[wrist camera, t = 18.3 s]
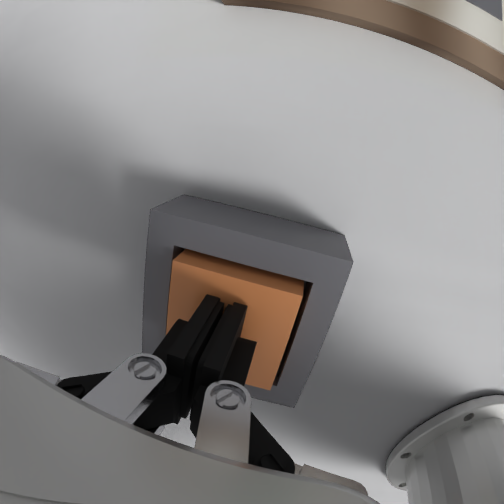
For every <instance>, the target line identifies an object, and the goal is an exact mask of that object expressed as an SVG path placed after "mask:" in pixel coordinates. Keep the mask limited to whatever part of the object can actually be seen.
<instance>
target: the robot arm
mask: <svg viewBox="0 0 504 504" xmlns="http://www.w3.org/2000/svg"><path fill="white" fill-rule="evenodd" d="M247 307H248V306H247V305H243V304H240V303H236V302H234V303H233V305H230V304H228V305H227V307H226V309H225V311H224V313H223V309H224V303H223V302H220V298H218V297H215V296H212V295H208V294H207V295H206V296H205V297H204V299H203V300H202V302H201V303H200V305H199V306H198V308H197V309H196V311H195V312H194V314H193V315H192V317H191V318H190V320H189V321H185V320H182V319H178V320H177V321H176V322H175V324H174V325H173V326H172V328H171V329H170V330H169V332H168V333H167V335H166V336H165V337H164V339H163V340H162V341H161V343H160V344H159V346H158V347H157V348H156V350H155V351H154V353H153V354H146V353H140V354H135V355H132V356H130V357H129V358H127V359H126V360H125V361H124V362H123V363H122V364H120V365H119V366H118V367H117V368H116V369H115V370H114V371H112V372H106V373H100V374H93V375H86V376H79V377H71V378H67V379H64V380H60V377H59V376H56V375H53V374H50V373H47V372H44V371H42V370H39V369H36V368H33V367H30V366H28V365H25V364H22V363H19V362H15V361H13V360H11V359H9V358H7V357H5V356H2V355H0V504H380V503H378V502H377V501H375V500H374V499H372V498H371V497H369V496H368V493H367V491H366V489H365V487H364V486H363V485H362V484H361V483H358V482H356V481H354V480H351V479H347V478H344V477H341V476H338V475H334V474H331V473H328V472H325V471H322V470H320V469H317V468H314V467H311V466H308V465H306V464H304V465H303V466H300V465H298V464H295V463H294V462H293V460H292V459H291V457H290V456H289V455H288V454H287V453H286V451H285V450H284V449H283V448H282V447H281V446H280V445H279V444H278V443H277V441H276V440H275V439H274V438H273V437H272V436H271V435H270V433H269V432H268V431H267V430H266V429H265V428H264V426H263V425H262V424H261V423H260V422H259V421H258V419H257V418H256V417H255V416H254V415H253V413H252V412H251V395H250V393H249V392H248V390H247V389H246V388H245V387H244V385H245V382H246V379H247V375H248V372H249V368H250V365H251V362H252V358H253V355H254V351H255V347H256V344H257V342H256V341H252V340H248V339H245V338H241V337H240V336H241V332H242V328H243V324H244V319H245V315H246V311H247ZM222 314H223V315H222ZM190 409H191V413H190V420H191V425H190V430H191V431H192V433H193V434H194V436H195V437H196V442H195V447H194V448H192V447H189V446H186V445H183V444H181V443H178V442H175V441H172V440H170V439H167V438H164V437H162V436H159V435H160V434H161V432H162V431H163V429H164V425H166V424H170V423H176V424H178V423H179V421H180V419H181V417H182V418H185V419H186V417H187V416H188V413H189V411H190ZM386 475H387V480H388V481H389V483H390V484H391V485H392V486H394V487H395V488H398V489H401V490H405V491H407V493H408V502H409V504H504V395H492V396H485V397H480V398H477V399H473V400H470V401H467V402H464V403H462V404H459V405H457V406H454V407H452V408H450V409H448V410H446V411H444V412H442V413H440V414H438V415H437V416H435V417H433V418H431V419H430V420H428V421H426V422H425V423H423V424H422V425H420V426H419V427H418V428H416V429H415V430H413V431H412V432H411V433H410V434H408V435H407V436H406V437H405V438H404V439H403V440H402V441H401V442H400V443H399V444H398V445H397V446H396V447H395V448H394V449H393V451H392V452H391V454H390V455H389V457H388V460H387V462H386Z"/></svg>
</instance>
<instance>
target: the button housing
mask: <svg viewBox="0 0 504 504" xmlns="http://www.w3.org/2000/svg"><path fill="white" fill-rule="evenodd" d="M185 249H189V250H193V251H197V252H200V253H204V254H207V255H211V256H215V257H218V258H222V259H226V260H229V261H233V262H237V263H240V264H244V265H248V266H252V267H255V268H259V269H263V270H266V271H270V272H274V273H278V274H281V275H285V276H289V277H293V278H297V279H300V280H304V289H303V297H302V301H301V304H300V307H299V310H298V313H297V316H296V319H295V322H294V325H293V328H292V331H291V334H290V337H289V339H288V342H287V345H286V348H285V351H284V354H283V357H282V360H281V362H280V365H279V368H278V371H277V373H276V376H275V379H274V382H273V384H272V387H271V390H266V389H262V388H258V387H255V386H251V385H247V384H245V385H244V387H245V388H246V389H247V390H248V392H249V393H250V395H251V397H252V398H256V399H260V400H264V401H268V402H272V403H276V404H280V405H284V406H289V407H293V408H294V407H295V405H296V403H297V400H298V398H299V396H300V394H301V392H302V390H303V388H304V385H305V383H306V381H307V379H308V376H309V374H310V372H311V370H312V367H313V365H314V363H315V360H316V358H317V356H318V353H319V351H320V349H321V346H322V344H323V341H324V339H325V337H326V334H327V332H328V329H329V327H330V324H331V322H332V319H333V317H334V314H335V311H336V309H337V306H338V303H339V301H340V298H341V295H342V293H343V290H344V287H345V285H346V282H347V279H348V276H349V273H350V270H351V268H352V265H353V260H352V257H351V253H350V250H349V247H348V244H347V241H346V238H345V235H341V234H338V233H334V232H331V231H327V230H323V229H320V228H316V227H312V226H308V225H305V224H301V223H297V222H293V221H289V220H286V219H282V218H278V217H274V216H270V215H266V214H262V213H258V212H254V211H250V210H246V209H242V208H238V207H234V206H230V205H226V204H221V203H217V202H213V201H209V200H204V199H200V198H196V197H192V196H187V195H182V196H180V197H177V198H175V199H173V200H171V201H168V202H166V203H164V204H162V205H160V206H157V207H155V208H153V209H151V210H150V218H149V228H148V239H147V251H146V264H145V280H144V300H143V336H142V353H146V354H153V353H154V351H155V350H156V348H157V347H158V346H159V344H160V343H161V341H162V340H163V339H164V337H165V336H166V327H167V314H168V302H169V292H170V281H171V272H172V263H173V260H174V259H175V258H176V257H177V256H178V255H179V254H180V253H181V252H183V251H184V250H185Z"/></svg>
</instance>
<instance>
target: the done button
mask: <svg viewBox="0 0 504 504" xmlns="http://www.w3.org/2000/svg"><path fill="white" fill-rule="evenodd" d="M303 289H304V280H300V279H297V278H293V277H289V276H285V275H281V274H278V273H274V272H270V271H266V270H263V269H259V268H255V267H252V266H248V265H244V264H240V263H237V262H233V261H229V260H226V259H222V258H218V257H215V256H211V255H207V254H204V253H200V252H197V251H193V250H189V249H185V250H184V251H183V252H181V253H180V254H179V255H178V256H177V257H176V258H175V259H174V260H173V263H172V272H171V281H170V292H169V302H168V314H167V327H166V335H167V333H168V332H169V330H170V329H171V328H172V326H173V325H174V324H175V322H176V321H177V320H178V319H182V320H185V321H189V320H190V318H191V317H192V315H193V314H194V312H195V311H196V309H197V308H198V306H199V305H200V303H201V302H202V300H203V299H204V297H205V296H206V295H207V294H208V295H212V296H215V297H218V298H220V302H223V303H224V309H223V313H224V311H225V309H226V307H227V305H228V304H230V305H233V303H234V302H236V303H240V304H243V305H247V306H248V307H247V311H246V315H245V319H244V324H243V328H242V332H241V336H240V337H241V338H245V339H248V340H252V341H256V342H257V344H256V347H255V351H254V355H253V358H252V362H251V365H250V368H249V372H248V375H247V379H246V382H245V384H247V385H251V386H255V387H258V388H262V389H266V390H271V387H272V384H273V382H274V379H275V376H276V373H277V371H278V368H279V365H280V362H281V360H282V357H283V354H284V351H285V348H286V345H287V342H288V339H289V337H290V334H291V331H292V328H293V325H294V322H295V319H296V316H297V313H298V310H299V307H300V304H301V301H302V297H303ZM222 315H223V314H222Z"/></svg>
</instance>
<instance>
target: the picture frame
mask: <svg viewBox="0 0 504 504" xmlns="http://www.w3.org/2000/svg"><path fill="white" fill-rule="evenodd" d="M222 2H223V3H224V5H236V6H248V7H258V8H267V9H275V10H282V11H289V12H295V13H300V14H306V15H311V16H316V17H321V18H325V19H330V20H334V21H338V22H342V23H346V24H350V25H354V26H357V27H361V28H364V29H368V30H371V31H374V32H378V33H381V34H384V35H387V36H390V37H393V38H395V39H398V40H401V41H404V42H406V43H409V44H412V45H414V46H417V47H419V48H422V49H424V50H427V51H429V52H431V53H434V54H436V55H438V56H441V57H443V58H445V59H447V60H449V61H451V62H453V63H456V64H458V65H460V66H462V67H464V68H466V69H468V70H470V71H471V72H473V73H475V74H477V75H479V76H481V77H483V78H484V79H486V80H488V81H490V82H491V83H493V84H495V85H497V86H498V87H500V88H502V89H503V90H504V0H222Z"/></svg>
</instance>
